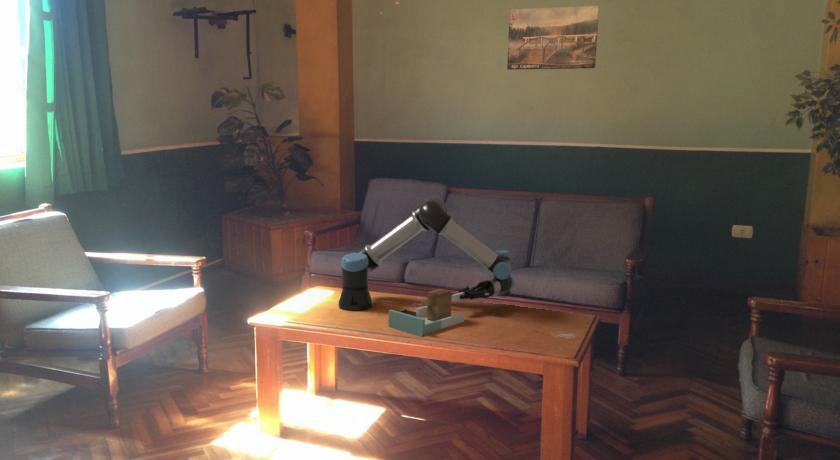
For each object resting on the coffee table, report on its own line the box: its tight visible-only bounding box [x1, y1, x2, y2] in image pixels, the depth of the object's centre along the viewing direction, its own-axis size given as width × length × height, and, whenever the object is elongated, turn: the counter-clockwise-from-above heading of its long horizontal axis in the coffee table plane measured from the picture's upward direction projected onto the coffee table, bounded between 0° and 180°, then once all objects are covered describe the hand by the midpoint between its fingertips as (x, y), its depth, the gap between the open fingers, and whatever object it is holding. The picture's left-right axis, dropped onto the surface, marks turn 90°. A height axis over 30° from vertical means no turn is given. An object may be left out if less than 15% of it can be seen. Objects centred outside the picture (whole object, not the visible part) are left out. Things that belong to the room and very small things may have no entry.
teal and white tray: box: [388, 306, 465, 338], centre depth 294 cm, size 19×25×7 cm
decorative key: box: [410, 299, 427, 308], centre depth 319 cm, size 7×1×20 cm
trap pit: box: [398, 309, 416, 316], centre depth 302 cm, size 6×9×3 cm
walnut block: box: [426, 288, 452, 322], centre depth 299 cm, size 6×8×12 cm
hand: (453, 298), depth 304 cm, fingers closed
